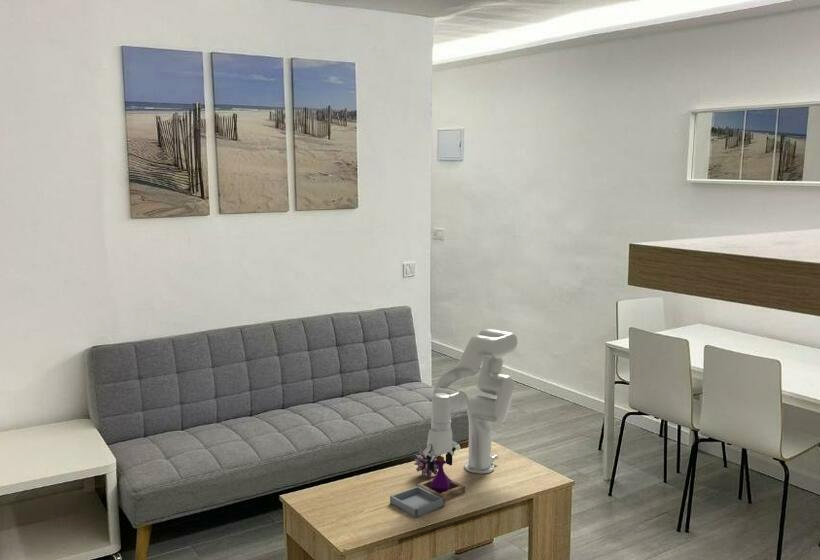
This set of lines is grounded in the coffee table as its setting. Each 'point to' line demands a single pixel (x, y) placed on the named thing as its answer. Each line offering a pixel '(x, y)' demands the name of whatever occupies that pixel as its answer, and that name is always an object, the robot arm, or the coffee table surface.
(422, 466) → the flower
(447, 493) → the square wooden frame
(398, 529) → the coffee table surface
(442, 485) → the perfume bottle
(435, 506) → the tray
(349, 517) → the coffee table surface
